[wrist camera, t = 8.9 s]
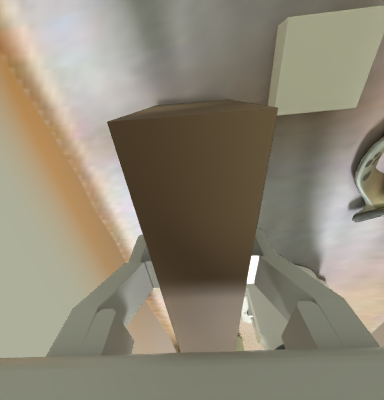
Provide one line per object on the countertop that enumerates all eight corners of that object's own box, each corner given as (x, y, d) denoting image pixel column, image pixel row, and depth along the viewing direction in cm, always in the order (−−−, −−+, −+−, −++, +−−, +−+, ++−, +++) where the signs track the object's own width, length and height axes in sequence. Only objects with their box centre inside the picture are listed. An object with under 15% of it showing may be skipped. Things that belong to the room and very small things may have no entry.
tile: (265, 114, 19) (340, 106, 18) (273, 115, 17) (356, 107, 16) (276, 26, 15) (370, 15, 14) (288, 16, 13) (395, 3, 13)
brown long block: (227, 99, 6) (279, 107, 3) (221, 279, 13) (233, 357, 9) (155, 105, 7) (107, 121, 3) (185, 281, 13) (182, 358, 9)
